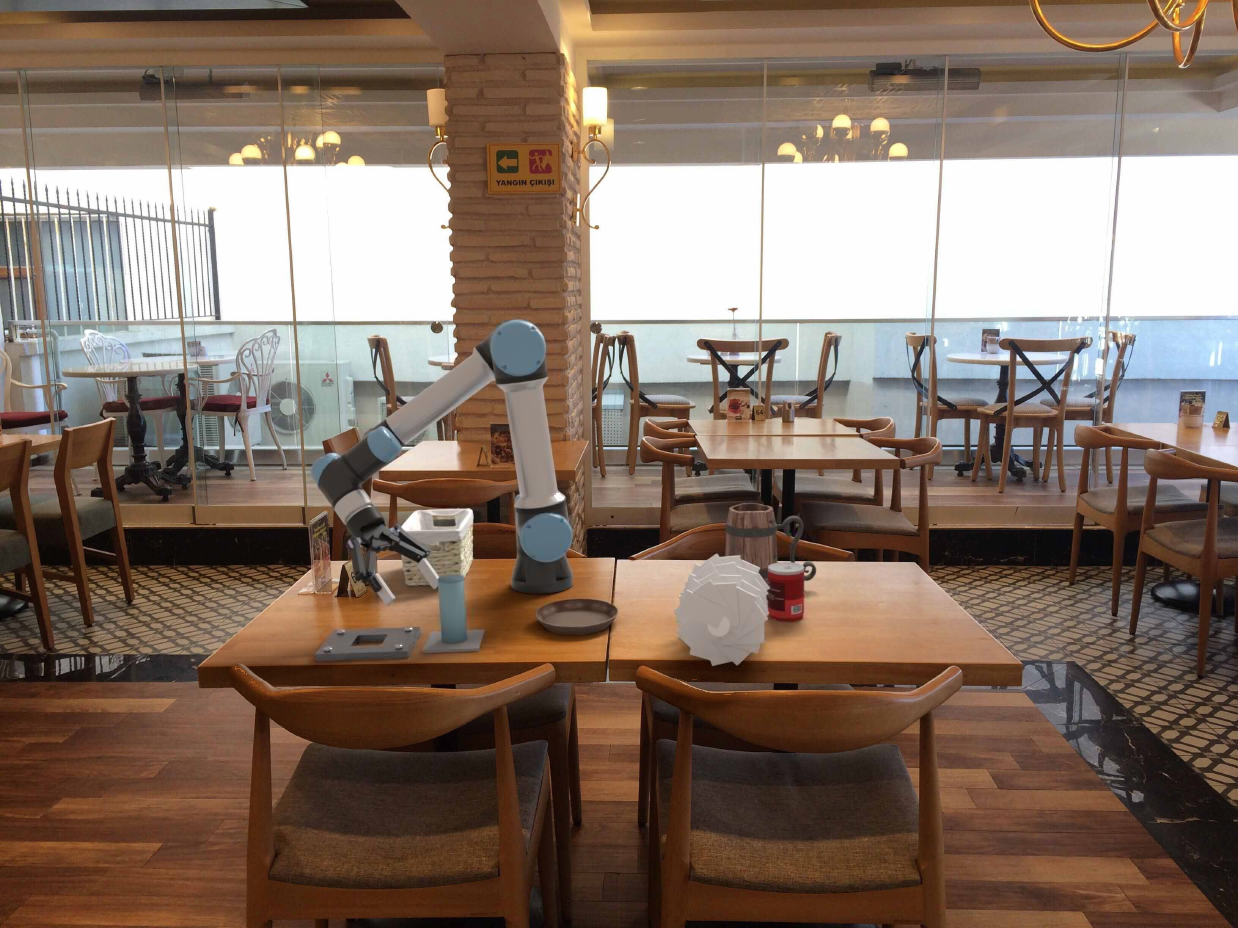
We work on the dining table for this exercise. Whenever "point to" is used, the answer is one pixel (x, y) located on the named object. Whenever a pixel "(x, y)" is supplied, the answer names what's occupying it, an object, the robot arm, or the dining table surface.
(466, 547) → the storage basket
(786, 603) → the canned food
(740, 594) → the spiral staircase
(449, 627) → the plug
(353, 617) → the dining table surface
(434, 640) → the pad
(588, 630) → the plant saucer
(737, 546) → the tankard
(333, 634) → the flange plate
